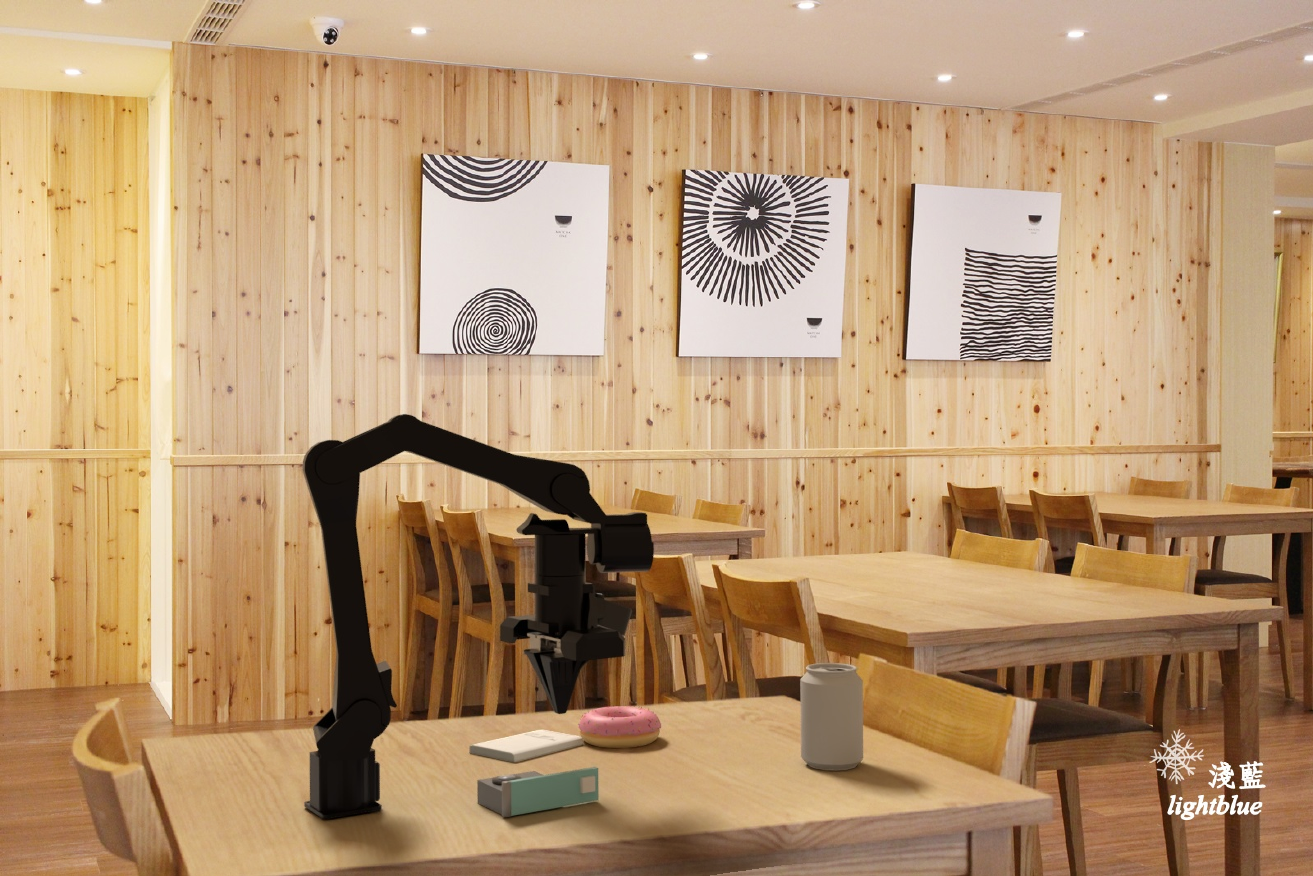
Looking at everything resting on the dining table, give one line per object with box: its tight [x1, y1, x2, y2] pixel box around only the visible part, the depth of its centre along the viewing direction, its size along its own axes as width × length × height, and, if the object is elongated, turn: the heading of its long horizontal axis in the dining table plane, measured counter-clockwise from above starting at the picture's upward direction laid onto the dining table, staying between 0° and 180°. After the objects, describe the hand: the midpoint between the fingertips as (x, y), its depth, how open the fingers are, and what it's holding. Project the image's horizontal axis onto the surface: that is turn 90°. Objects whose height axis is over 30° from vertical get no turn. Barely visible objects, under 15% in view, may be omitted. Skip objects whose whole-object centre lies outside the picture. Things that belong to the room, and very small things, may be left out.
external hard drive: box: [468, 728, 584, 763], centre depth 171 cm, size 2×8×12 cm
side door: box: [501, 766, 600, 818], centre depth 142 cm, size 12×1×4 cm, turn 124°
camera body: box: [476, 770, 544, 816], centre depth 145 cm, size 7×6×3 cm
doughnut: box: [578, 704, 662, 749], centre depth 176 cm, size 11×11×4 cm
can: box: [799, 662, 864, 772], centre depth 162 cm, size 8×8×12 cm
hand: (560, 713), depth 150 cm, fingers closed
